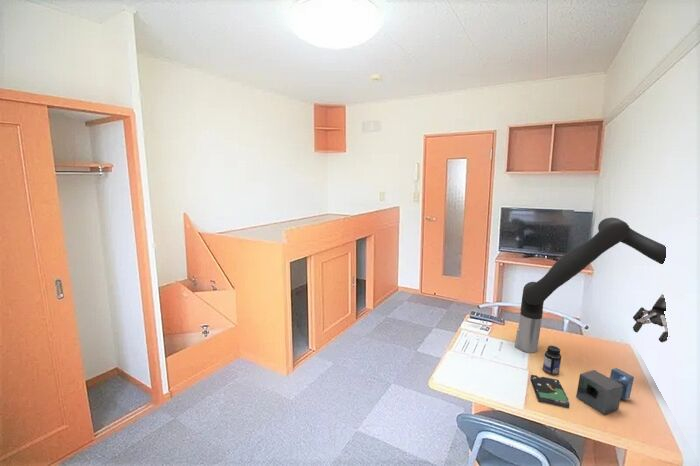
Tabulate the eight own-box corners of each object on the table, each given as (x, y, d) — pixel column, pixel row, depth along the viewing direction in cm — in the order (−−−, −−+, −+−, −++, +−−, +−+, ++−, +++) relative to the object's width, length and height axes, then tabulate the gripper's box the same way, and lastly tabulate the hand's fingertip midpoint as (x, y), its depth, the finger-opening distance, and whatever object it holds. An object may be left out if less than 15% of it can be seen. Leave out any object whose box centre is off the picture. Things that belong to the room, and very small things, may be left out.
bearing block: (590, 392, 129) (594, 369, 127) (618, 410, 119) (623, 385, 117) (576, 397, 126) (580, 373, 124) (603, 415, 117) (608, 390, 115)
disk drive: (529, 380, 137) (538, 403, 123) (530, 374, 136) (539, 396, 122) (557, 385, 134) (569, 409, 120) (558, 379, 133) (571, 402, 119)
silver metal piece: (612, 388, 130) (616, 367, 128) (629, 398, 125) (634, 376, 123) (587, 396, 125) (590, 375, 123) (603, 407, 119) (608, 385, 118)
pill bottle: (557, 369, 143) (561, 346, 141) (559, 377, 138) (563, 353, 136) (541, 365, 146) (545, 343, 144) (543, 373, 140) (546, 349, 138)
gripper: (645, 292, 133) (623, 323, 132) (690, 304, 120) (665, 339, 118) (653, 302, 135) (631, 333, 134) (698, 315, 122) (673, 350, 121)
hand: (647, 336), depth 126 cm, fingers open, 8 cm apart
